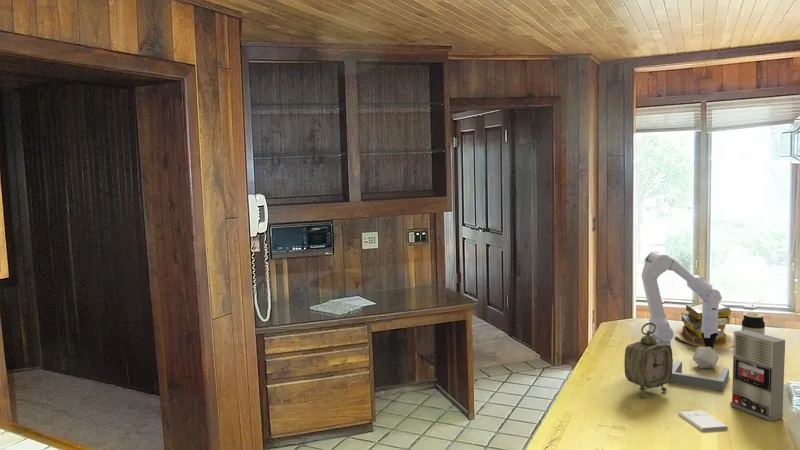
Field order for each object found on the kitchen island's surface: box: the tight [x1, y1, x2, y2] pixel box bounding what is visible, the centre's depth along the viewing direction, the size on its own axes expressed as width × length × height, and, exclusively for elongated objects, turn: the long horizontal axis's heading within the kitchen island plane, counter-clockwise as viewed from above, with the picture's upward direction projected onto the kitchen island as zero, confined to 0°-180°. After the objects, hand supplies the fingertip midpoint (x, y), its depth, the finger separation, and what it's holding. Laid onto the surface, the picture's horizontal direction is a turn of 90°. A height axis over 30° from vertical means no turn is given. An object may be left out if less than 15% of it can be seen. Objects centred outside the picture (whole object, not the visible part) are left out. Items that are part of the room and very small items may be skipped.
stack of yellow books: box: [674, 302, 734, 349], centre depth 271 cm, size 25×25×17 cm
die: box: [691, 346, 720, 370], centre depth 237 cm, size 8×9×10 cm
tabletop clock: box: [623, 322, 674, 399], centre depth 212 cm, size 14×9×25 cm, turn 117°
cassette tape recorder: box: [729, 329, 786, 422], centre depth 193 cm, size 14×6×25 cm, turn 23°
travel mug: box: [741, 311, 766, 335], centre depth 245 cm, size 8×8×18 cm
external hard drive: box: [678, 409, 728, 432], centre depth 189 cm, size 2×8×12 cm
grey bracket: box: [668, 360, 730, 392], centre depth 224 cm, size 18×16×4 cm
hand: (709, 351), depth 244 cm, fingers closed
